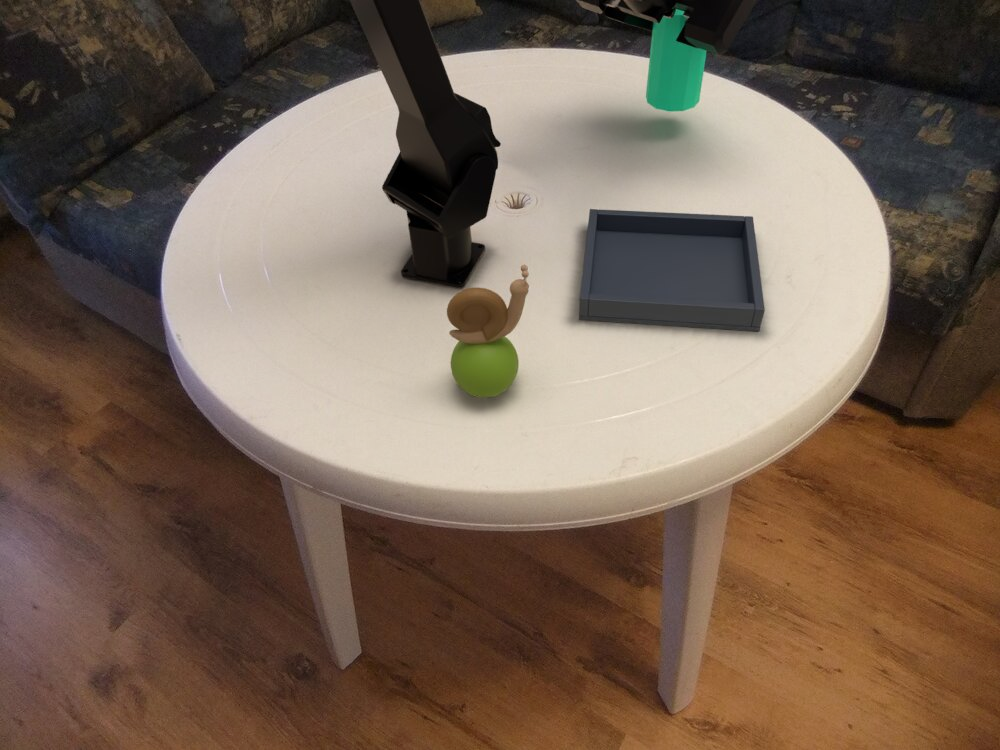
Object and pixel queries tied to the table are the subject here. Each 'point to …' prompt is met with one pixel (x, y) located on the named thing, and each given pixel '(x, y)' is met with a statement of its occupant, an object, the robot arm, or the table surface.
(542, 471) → the table surface
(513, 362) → the snail figurine
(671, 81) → the candle
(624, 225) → the tray
